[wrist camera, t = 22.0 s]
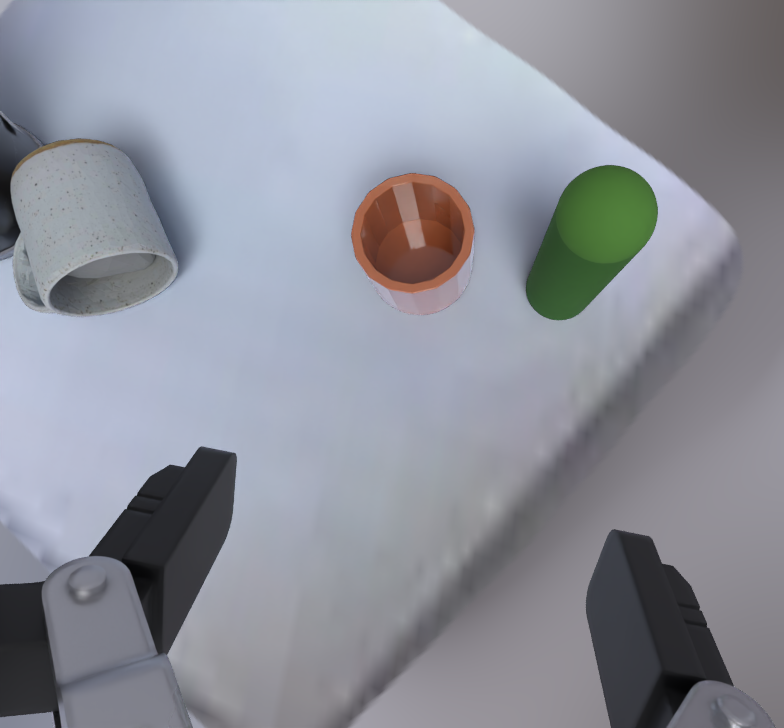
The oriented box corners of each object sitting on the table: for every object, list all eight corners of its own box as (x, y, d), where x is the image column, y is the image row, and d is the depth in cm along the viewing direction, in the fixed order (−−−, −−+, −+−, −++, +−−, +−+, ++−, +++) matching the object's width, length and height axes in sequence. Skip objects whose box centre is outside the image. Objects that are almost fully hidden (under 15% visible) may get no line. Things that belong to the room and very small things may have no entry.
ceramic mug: (151, 163, 43) (81, 106, 35) (201, 274, 41) (139, 240, 34) (10, 239, 43) (-88, 198, 36) (55, 350, 42) (-37, 332, 35)
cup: (360, 305, 40) (341, 281, 34) (380, 207, 41) (364, 165, 34) (461, 323, 39) (461, 301, 33) (480, 223, 40) (483, 183, 34)
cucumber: (520, 314, 39) (555, 240, 24) (532, 252, 39) (572, 141, 25) (585, 325, 39) (661, 257, 24) (596, 262, 39) (678, 156, 24)
